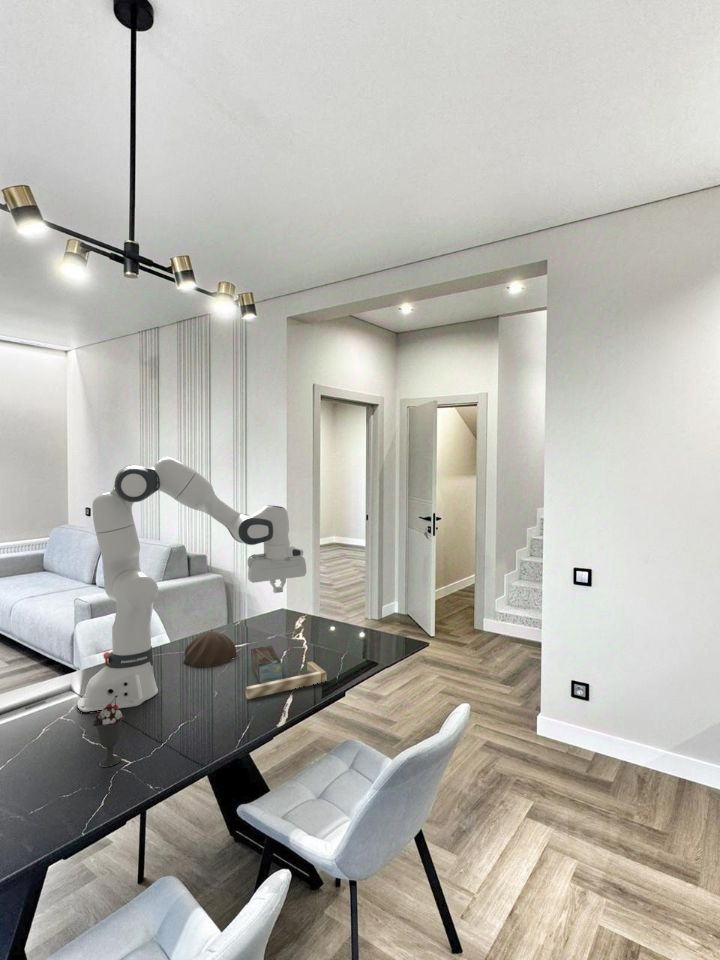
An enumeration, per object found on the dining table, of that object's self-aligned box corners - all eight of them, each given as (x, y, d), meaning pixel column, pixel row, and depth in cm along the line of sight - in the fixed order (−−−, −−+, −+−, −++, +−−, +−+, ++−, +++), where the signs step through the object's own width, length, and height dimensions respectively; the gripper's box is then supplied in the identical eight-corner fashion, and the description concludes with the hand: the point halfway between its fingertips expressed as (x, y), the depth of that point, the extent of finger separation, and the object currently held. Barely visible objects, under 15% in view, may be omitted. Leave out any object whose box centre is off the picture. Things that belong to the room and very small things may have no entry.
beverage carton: (258, 684, 169) (258, 664, 169) (250, 665, 187) (250, 647, 187) (283, 680, 171) (282, 660, 171) (273, 662, 190) (272, 644, 190)
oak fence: (247, 699, 157) (247, 689, 157) (237, 685, 168) (237, 676, 168) (326, 681, 169) (326, 672, 169) (312, 670, 180) (312, 661, 180)
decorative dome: (225, 668, 185) (224, 639, 185) (173, 666, 188) (172, 639, 188) (245, 650, 204) (244, 624, 204) (197, 649, 207) (197, 624, 207)
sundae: (130, 753, 127) (128, 692, 127) (118, 769, 120) (116, 703, 120) (102, 755, 127) (101, 693, 127) (89, 770, 120) (87, 705, 120)
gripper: (250, 556, 172) (251, 598, 172) (307, 550, 181) (308, 590, 181) (244, 554, 177) (245, 594, 177) (300, 548, 187) (301, 587, 187)
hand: (278, 592), depth 179 cm, fingers closed
